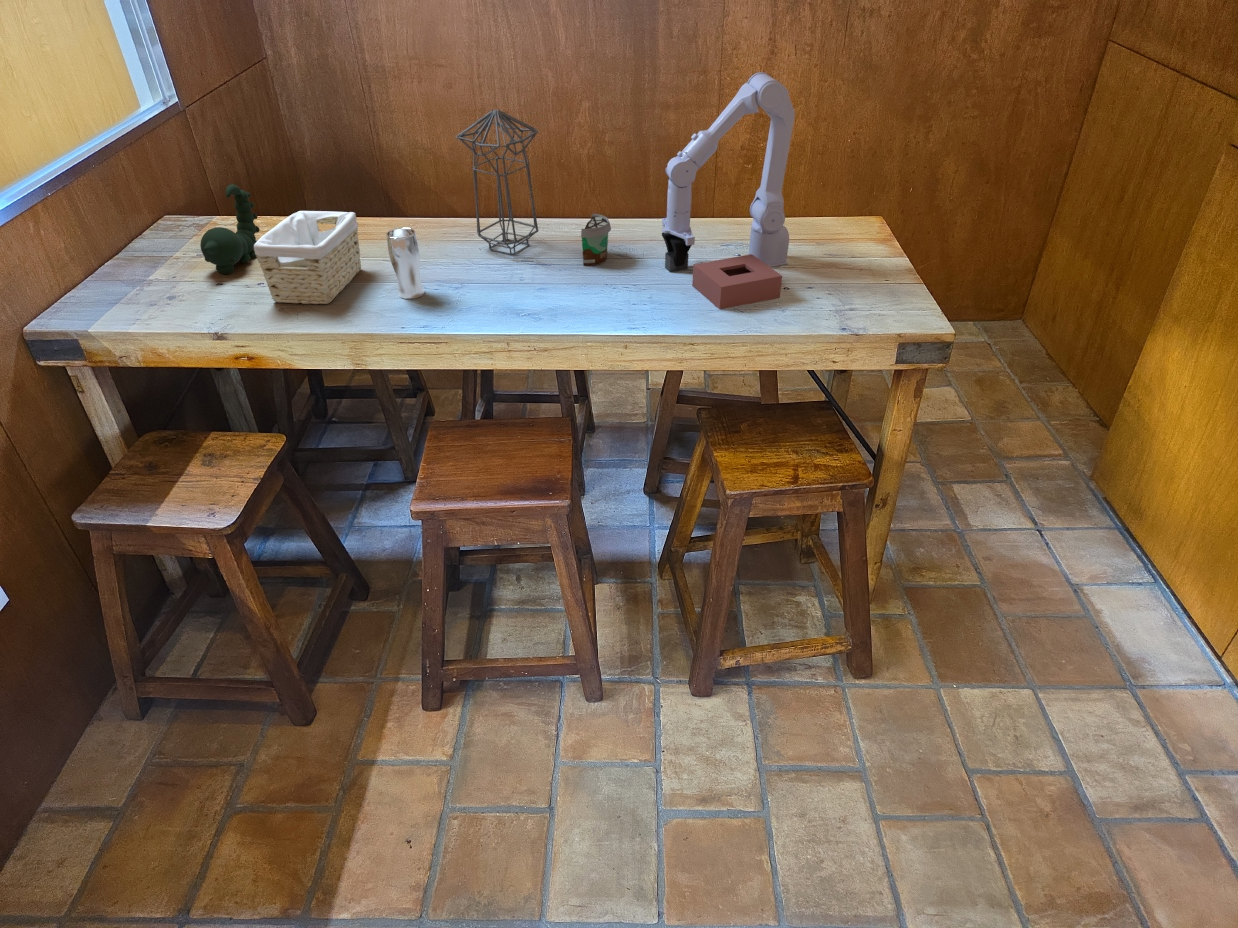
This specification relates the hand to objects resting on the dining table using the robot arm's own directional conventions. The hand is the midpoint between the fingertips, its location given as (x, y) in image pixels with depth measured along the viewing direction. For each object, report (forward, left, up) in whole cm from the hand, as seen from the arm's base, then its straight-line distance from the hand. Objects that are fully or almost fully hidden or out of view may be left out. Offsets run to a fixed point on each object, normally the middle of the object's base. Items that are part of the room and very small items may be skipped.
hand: (676, 263), depth 198 cm
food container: (+16, -13, -2) cm, 21 cm away
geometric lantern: (+36, -29, -2) cm, 46 cm away
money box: (-7, +18, -1) cm, 19 cm away
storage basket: (+85, -24, -2) cm, 88 cm away
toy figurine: (+103, -47, -2) cm, 113 cm away
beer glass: (+65, -11, -2) cm, 66 cm away
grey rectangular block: (0, 0, -1) cm, 1 cm away
